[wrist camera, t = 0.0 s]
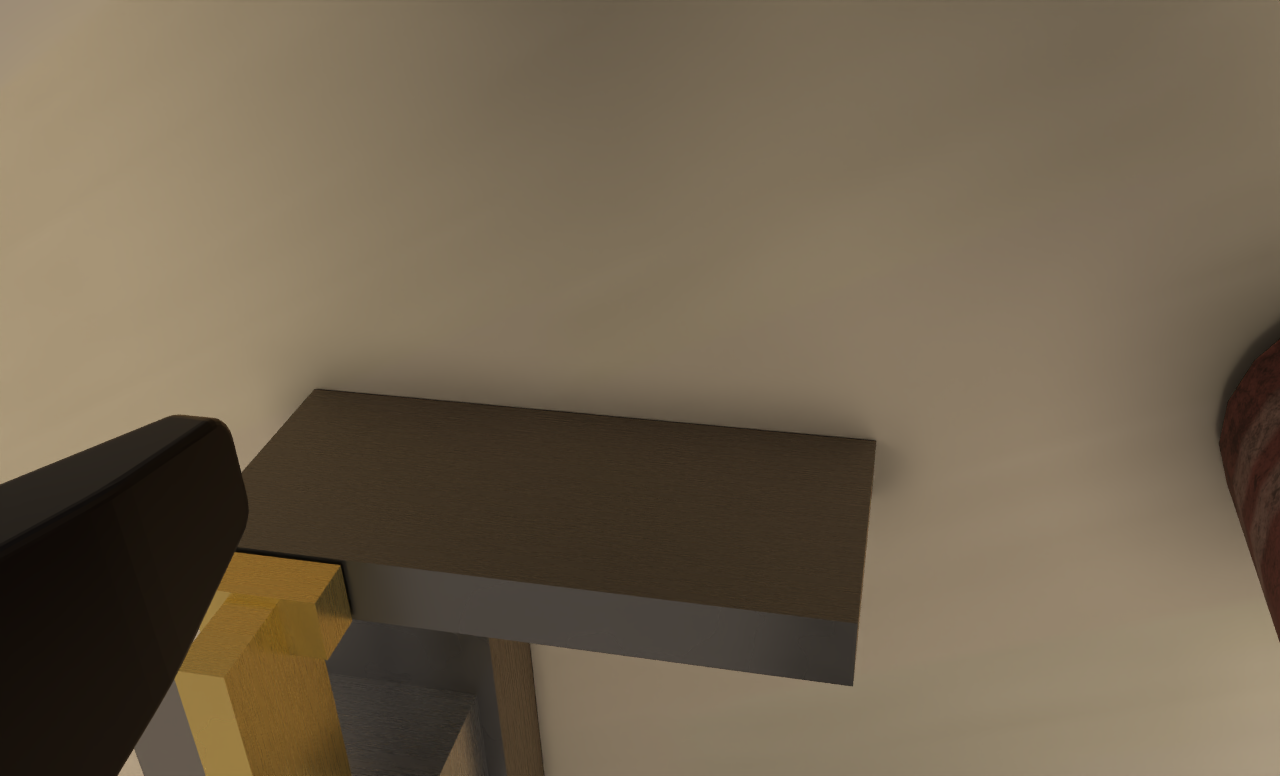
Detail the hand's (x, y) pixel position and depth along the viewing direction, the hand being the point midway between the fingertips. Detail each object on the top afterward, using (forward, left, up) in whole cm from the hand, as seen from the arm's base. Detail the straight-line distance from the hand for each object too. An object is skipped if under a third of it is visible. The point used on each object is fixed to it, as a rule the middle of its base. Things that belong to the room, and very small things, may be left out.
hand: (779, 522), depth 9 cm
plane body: (-16, +6, -15) cm, 22 cm away
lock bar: (-13, +11, -9) cm, 19 cm away
